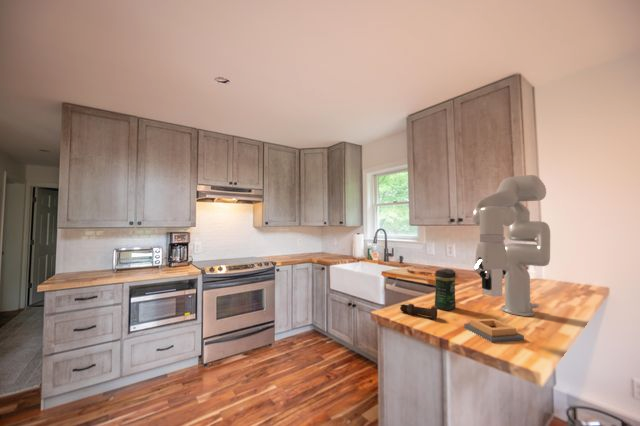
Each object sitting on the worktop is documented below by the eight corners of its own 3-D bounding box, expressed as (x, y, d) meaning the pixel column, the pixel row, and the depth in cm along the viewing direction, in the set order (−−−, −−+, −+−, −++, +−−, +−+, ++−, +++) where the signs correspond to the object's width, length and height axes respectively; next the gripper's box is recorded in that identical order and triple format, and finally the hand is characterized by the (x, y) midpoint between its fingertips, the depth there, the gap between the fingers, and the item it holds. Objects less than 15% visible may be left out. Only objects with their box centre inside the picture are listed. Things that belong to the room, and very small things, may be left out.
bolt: (402, 315, 122) (436, 322, 113) (398, 312, 119) (433, 319, 110) (403, 303, 125) (437, 308, 116) (400, 299, 121) (435, 304, 112)
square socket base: (493, 325, 106) (493, 316, 106) (524, 340, 93) (523, 329, 93) (464, 327, 103) (464, 318, 104) (491, 342, 91) (491, 332, 91)
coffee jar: (448, 312, 122) (448, 271, 123) (432, 307, 128) (432, 268, 129) (458, 308, 128) (458, 269, 129) (442, 304, 134) (442, 267, 135)
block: (492, 293, 101) (492, 266, 102) (502, 296, 97) (502, 268, 97) (482, 293, 100) (482, 266, 101) (491, 296, 96) (491, 268, 97)
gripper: (502, 239, 105) (503, 286, 104) (464, 238, 102) (464, 287, 101) (519, 240, 97) (520, 290, 97) (479, 240, 94) (479, 292, 94)
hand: (492, 288), depth 99 cm, fingers closed on block, 4 cm apart
